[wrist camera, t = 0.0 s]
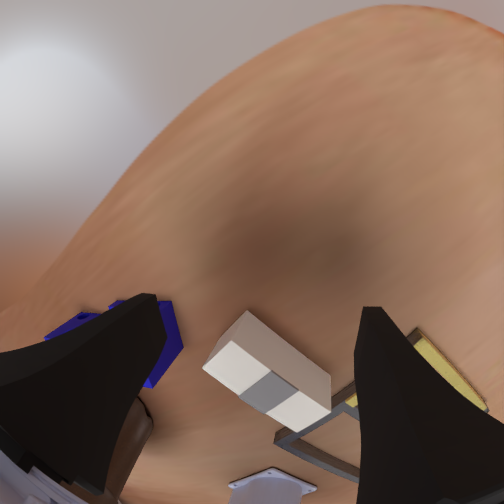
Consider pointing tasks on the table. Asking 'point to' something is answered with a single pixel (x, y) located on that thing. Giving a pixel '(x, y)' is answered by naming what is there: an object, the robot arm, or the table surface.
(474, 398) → the rack
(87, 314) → the cable clip
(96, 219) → the table surface
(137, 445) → the plant pot
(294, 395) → the white banded pillar
